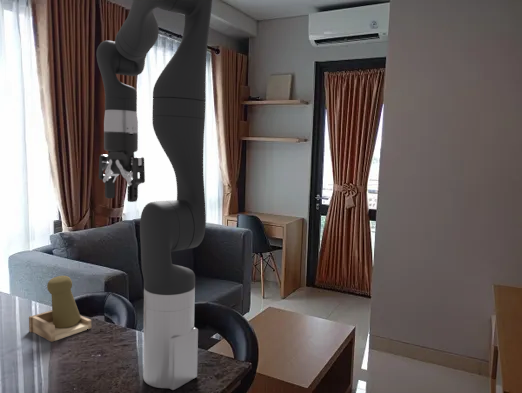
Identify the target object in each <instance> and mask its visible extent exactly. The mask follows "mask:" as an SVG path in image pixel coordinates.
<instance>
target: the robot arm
mask: <svg viewBox="0 0 522 393" xmlns="http://www.w3.org/2000/svg"><path fill="white" fill-rule="evenodd" d="M157 8H159V9H160V10H164V11H168V12H171V13H176V14H179V15H180V14H181V15H184V27H183V33H182V36H181V41H180V42H179V45H178V47H177V49H176V51H175V52H174V54H173V56H172V57H171V59H170V60H168V61H169V62H168V63H167V64H166V66H165V67H164V68H163V70H162V71H161V73H160V74H159V76H158V77H157V79H156V81H155V84H154V86H153V90H152V117H151V118H152V128H153V132H154V133H155V136H156V139H157V141H158V142H159V144H160V146H161V148H162V150H163V152H164V153H165V154H166V157H167V159H168V160H169V162H170V164H171V166H172V168H173V171H174V174H175V175H174V177H175V182H176V199H175V200H174V199H173V200H159V201H157V200H156V201H152V202H149V203H147V204H145V206H144V207H143V209H142V210H141V213H140V214H141V215H140V218H139V219H140V220H139V237H140V238H139V239H140V259H141V261H140V264H141V271H142V278H143V337H142V338H143V341H142V342H143V343H142V344H143V346H142V347H143V351H142V352H143V354H142V355H143V356H142V358H143V359H142V360H143V362H142V363H143V364H142V366H143V368H142V376H143V377H142V378H143V381H144V382H145V383H146V384H147V385H149V386H150V387H153V388H158V389H170V390H172V391H174V390H176V389H178V388H181V387H182V386H183V385H185V384H187V383H189V382H191V381H192V380H193V379H195V378H197V377H198V356H199V354H198V352H199V349H198V348H199V347H198V345H199V343H198V341H199V329H198V328H197V327H195V304H196V303H195V300H196V299H195V296H196V295H195V294H196V292H195V291H196V274H195V272H194V270H192V269H190V268H189V267H185V266H182V265H178V264H173V261H172V252H177V251H184V250H189V249H194V248H197V247H198V246H200V244H201V243H202V242H203V240H204V237H205V233H206V227H207V223H206V222H207V214H206V213H207V212H206V196H205V195H206V193H205V180H204V176H205V175H204V143H205V140H204V138H205V124H206V98H207V97H206V89H207V88H206V85H207V83H206V78H207V75H206V74H207V57H208V56H207V55H208V54H207V53H208V40H209V34H210V33H209V32H210V25H211V17H212V16H211V15H212V8H213V0H132V3H131V6H130V10H129V12H128V15H127V17H126V19H125V20H124V22H123V23H122V25H121V27H119V28H120V29H119V30H118V31H117V33H116V36H115V39H114V41H113V40H104V41H102V42H100V44H99V45H98V46H97V49H96V61H97V62H96V63H97V66H98V68H99V71H100V74H101V75H100V76H101V80H102V83H103V84H102V85H103V88H104V98H105V100H104V119H103V150H104V151H106V152H108V154H100V155H99V157H98V159H99V160H98V180H102V182H103V183H104V197H105V199H115V196H116V194H115V193H116V189H115V188H116V187H115V186H116V184H115V181H116V180H117V177H118V176H119V175H121V176H122V178H124V179H125V181H126V182H127V202H128V203H134V202H135V203H137V201H138V198H139V195H138V194H139V190H138V189H139V186H140V185H141V184H145V182H146V176H145V173H146V172H145V158H144V157H143V156H135V152H138V150H139V149H138V147H139V145H138V140H139V138H138V137H139V132H138V130H139V129H138V128H139V125H138V124H139V121H138V113H137V111H138V110H137V109H138V108H137V106H138V105H137V104H138V94H137V89H136V88H135V87H134V86H131V85H129V84H125V83H123V82H122V81H120V80H119V79H118V77H117V75H121V76H122V75H123V76H128V77H130V76H131V77H135V76H136V77H137V76H140V75H141V74H142V73H143V72H144V69H145V66H146V58H147V55H148V53H149V52H150V50H151V49H152V48H153V46H155V44H156V42H157V41H158V38H159V32H160V31H159V30H160V29H159V28H160V27H159V23H158V19H157V17H156V14H155V12H154V10H155V9H157ZM104 173H105V174H104ZM138 174H139V175H138Z"/></svg>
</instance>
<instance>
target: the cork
mask: <svg viewBox="0 0 522 393" xmlns="http://www.w3.org/2000/svg"><path fill="white" fill-rule="evenodd" d="M47 282H48V283H46V284H47V285H46V289H47V291H48V293H49V294H50V295H51V309H52V315H53V325H55V328H66V327H70V326H73V325H74V324H76V323H78V322H79V321H80V319H81V317H80V315H81V314H80V311H79V309H78V306H77V303H76V300H75V297H74V295H73V291H72V288H73V281H72V279H71V277H69V276H67V275H58V276H55V277H52V278H51V279H50V280H48V281H47Z"/></svg>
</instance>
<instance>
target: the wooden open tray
mask: <svg viewBox="0 0 522 393" xmlns="http://www.w3.org/2000/svg"><path fill="white" fill-rule="evenodd" d="M80 317H81V319H80V321H79V322H78V323H76V324H74V325H73V326H70V327H66V328H55V325H53V315H52V310H48V311H45V312H41V313H38V314H34V315H31V316H29V317H28V328H29V329H28V330H29V331H28V332H30V333H33V334H36V335H38V336H39V337H41V338H43V339H45V340H47V341H49V342H51V343H53V342H54V341H55V342H56V341H58V340H61V339H64V338H66V337H70V336H73V335H76V334H79V333H81V332H84V331H87V329H88V330H90V329H92V319H90V318H88V317H85V316H82V315H81V314H80Z"/></svg>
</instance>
